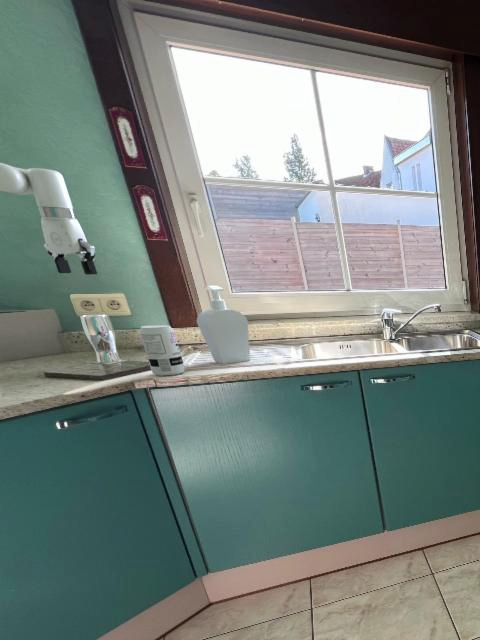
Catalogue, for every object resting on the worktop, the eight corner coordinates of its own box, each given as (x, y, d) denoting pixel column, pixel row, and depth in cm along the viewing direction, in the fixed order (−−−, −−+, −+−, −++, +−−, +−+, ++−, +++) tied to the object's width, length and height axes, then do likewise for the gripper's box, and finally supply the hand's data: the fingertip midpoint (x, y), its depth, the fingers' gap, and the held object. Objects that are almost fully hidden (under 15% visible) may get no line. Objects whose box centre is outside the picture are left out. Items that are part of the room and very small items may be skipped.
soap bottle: (242, 356, 185) (225, 284, 175) (257, 359, 180) (239, 286, 171) (205, 361, 175) (184, 285, 165) (219, 365, 170) (198, 287, 161)
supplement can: (149, 373, 157) (133, 326, 151) (180, 369, 163) (167, 323, 157) (157, 377, 152) (142, 328, 147) (190, 373, 159) (176, 326, 153)
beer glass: (96, 364, 160) (79, 317, 154) (94, 361, 164) (78, 315, 158) (125, 361, 164) (109, 315, 159) (122, 358, 169) (107, 313, 163)
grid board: (45, 376, 150) (43, 371, 149) (113, 363, 168) (111, 359, 168) (102, 380, 148) (101, 375, 147) (165, 366, 166) (164, 362, 166)
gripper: (19, 212, 148) (41, 272, 154) (68, 214, 146) (88, 275, 152) (48, 215, 155) (68, 272, 161) (95, 216, 153) (114, 274, 159)
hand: (78, 273), depth 157 cm, fingers open, 9 cm apart
